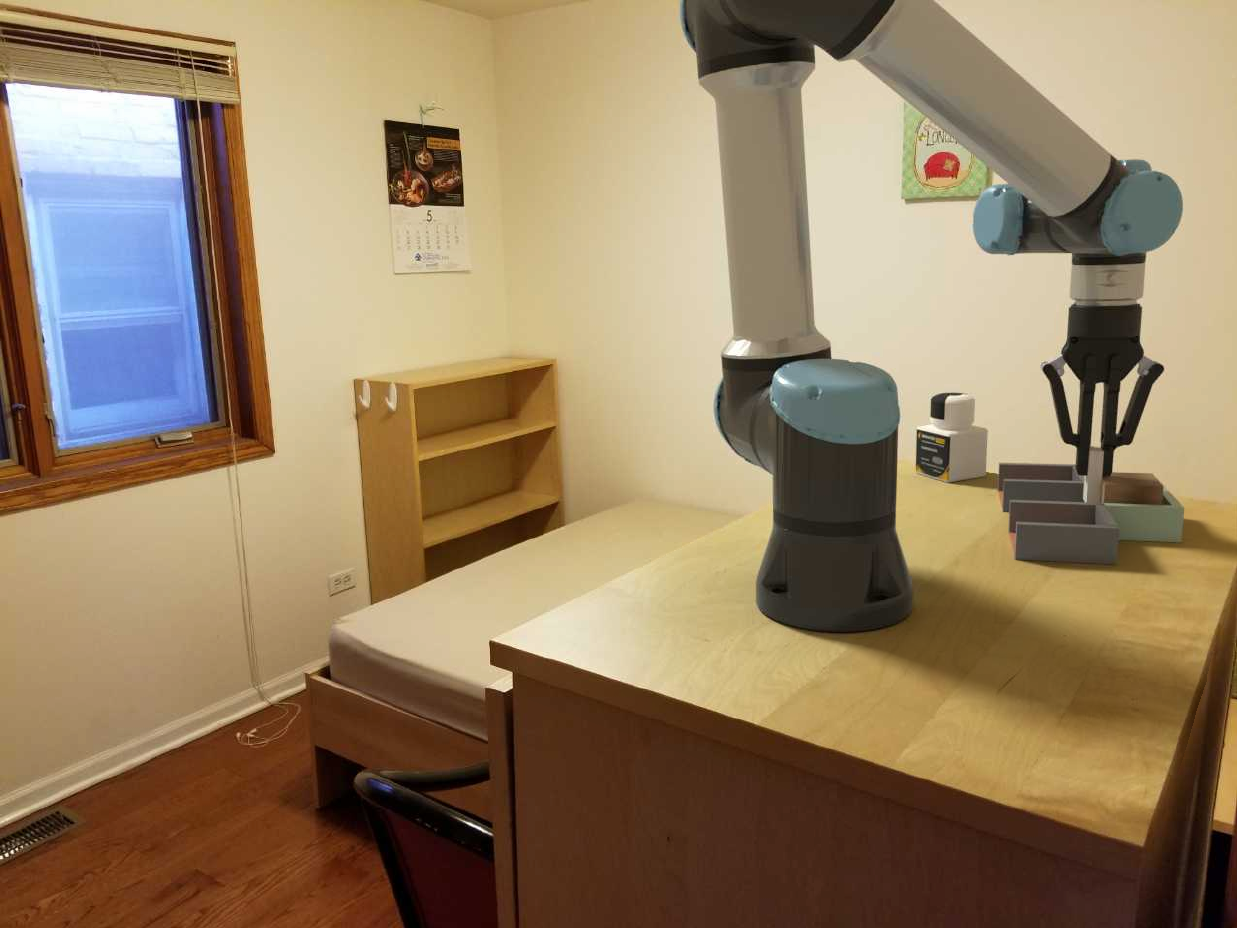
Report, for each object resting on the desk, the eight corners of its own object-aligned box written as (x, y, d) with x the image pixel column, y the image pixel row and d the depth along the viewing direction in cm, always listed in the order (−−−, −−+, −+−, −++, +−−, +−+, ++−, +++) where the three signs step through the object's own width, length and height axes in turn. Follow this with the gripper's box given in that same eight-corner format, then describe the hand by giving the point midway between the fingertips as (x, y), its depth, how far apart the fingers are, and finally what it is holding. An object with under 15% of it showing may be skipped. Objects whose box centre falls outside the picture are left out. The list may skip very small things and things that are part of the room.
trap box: (1015, 559, 106) (1017, 524, 105) (997, 491, 133) (999, 462, 132) (1202, 569, 100) (1205, 532, 100) (1144, 495, 127) (1147, 466, 126)
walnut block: (1101, 534, 113) (1105, 484, 112) (1093, 519, 118) (1096, 471, 117) (1159, 536, 111) (1163, 486, 110) (1148, 521, 117) (1152, 473, 115)
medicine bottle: (914, 473, 144) (916, 393, 142) (952, 467, 147) (955, 388, 144) (948, 483, 138) (950, 400, 135) (986, 476, 141) (990, 394, 138)
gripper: (1047, 306, 109) (1035, 508, 114) (1177, 303, 105) (1159, 512, 110) (1039, 300, 116) (1029, 491, 121) (1162, 298, 112) (1145, 495, 117)
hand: (1091, 501), depth 116 cm, fingers closed
